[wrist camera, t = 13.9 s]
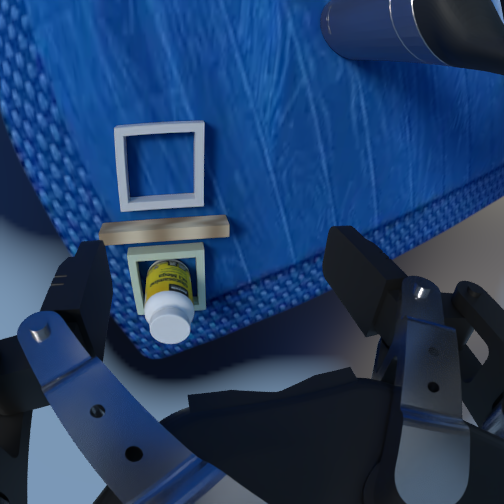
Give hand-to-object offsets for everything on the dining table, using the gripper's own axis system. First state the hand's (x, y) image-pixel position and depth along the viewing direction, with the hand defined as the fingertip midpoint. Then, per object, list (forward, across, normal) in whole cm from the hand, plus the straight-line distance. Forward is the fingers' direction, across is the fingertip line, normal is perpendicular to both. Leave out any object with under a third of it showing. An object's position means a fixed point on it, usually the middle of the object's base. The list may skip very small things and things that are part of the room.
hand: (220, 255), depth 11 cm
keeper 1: (+28, +3, +4) cm, 29 cm away
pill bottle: (+28, +3, +20) cm, 35 cm away
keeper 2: (+28, +3, +20) cm, 35 cm away
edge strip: (+28, +3, +12) cm, 31 cm away
